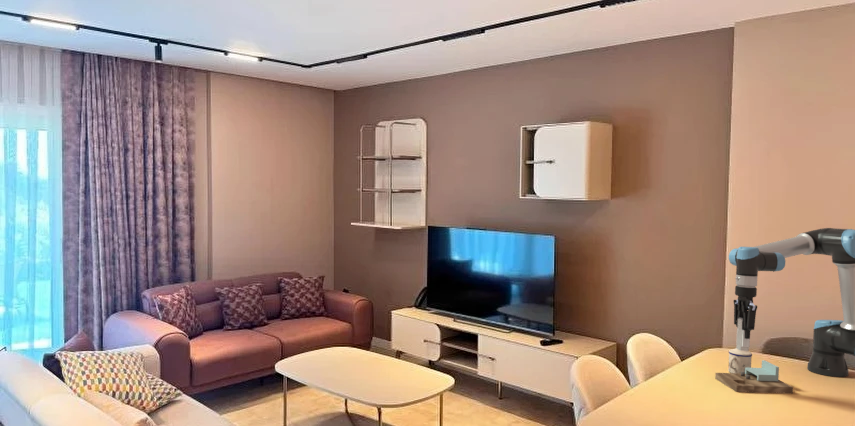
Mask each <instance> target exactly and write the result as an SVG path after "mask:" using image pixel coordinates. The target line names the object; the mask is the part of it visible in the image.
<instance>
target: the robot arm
mask: <svg viewBox="0 0 855 426" xmlns="http://www.w3.org/2000/svg"><path fill="white" fill-rule="evenodd" d="M799 255H804V256H810V255H825V256H830V257H831V259H832V260H831V262H832V263H833V264H834V265H835V266H837V267H836V268H837V274H838V276H837V277H838V281H839V282H838V283H839V284H838V285H839V293H840V298H841V306H842V307H841V308H842V315H843V317H842V318H843V320H841V319H839V320H838V319H817V320H815V322H814V327H813V337H812V338H813V341H812V342H813V343H812V354H811V356H810V358H809V359H808V362H807V366H806V369H807V370H808V371H809V372H811V373H814V374H818V375H822V376H823V375H824V376H828V377H836V378H837V377H839V378H846V377H848V376H849V368H848V363H847V361H846V359H845V354H847V355H850V356H854V357H855V229H852V228H835V227H825V228H824V227H823V228H818V229H814V230H809V231H805V232H801V233H799V234H797V235H796V236H794V237H791V238H785V239H781V240H777V241H772V242H767V243H764V244H760V245H756V246H739V247H738V248H733V249H731V250H730V252H729V254H728V260H729V263H730V264H731V265H732V266H734V267H735V266H736V269H735V273H736V274H735V278H734V279H735V288H734V294H735V296H737V299H733V307H734V308H733V324H734V325H735V326H736V327H738V318H739V317H744V329H742V347H749V348H750V346H751V345H750V342H751V332H752V331H755V326H756V315H757V310H758V305H756V304H754V298H756V297H757V290H758V289H757V286H758V276H759V272H773V273H774V272H780V271H782V270H784V268H785V266H786V258H790V257H794V256H799ZM735 342H736V343H735V344H736V345H737V341H735Z"/></svg>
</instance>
